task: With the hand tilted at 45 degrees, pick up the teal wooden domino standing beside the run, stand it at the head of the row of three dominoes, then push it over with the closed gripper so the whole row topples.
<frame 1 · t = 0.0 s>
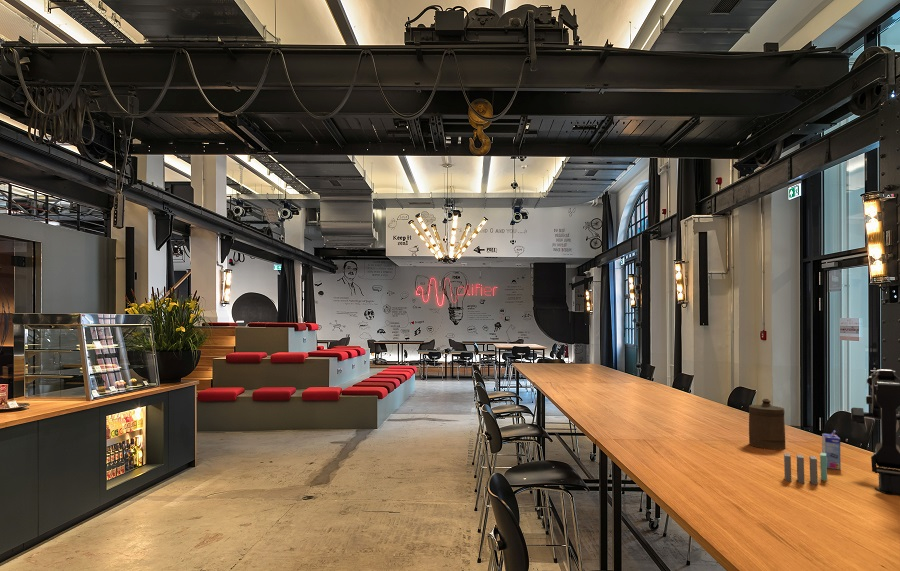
hand: (880, 433, 214), 15 cm above the table, tool tilted 35°, fingers open, 9 cm apart
domino end: (788, 479, 202), on the table
domino 3: (800, 481, 200), on the table
wooden container: (767, 446, 257), on the table
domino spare: (824, 478, 203), on the table
ink cartridge box: (831, 466, 221), on the table
domino 2: (813, 482, 198), on the table
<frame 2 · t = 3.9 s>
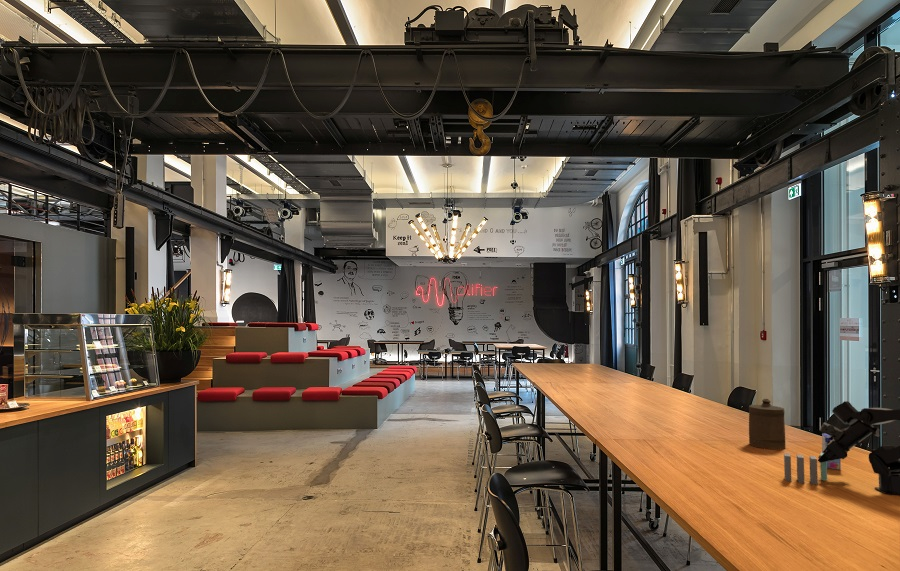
hand: (818, 460, 204), 7 cm above the table, tool tilted 45°, fingers closed on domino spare, 5 cm apart
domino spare: (824, 478, 203), on the table, touching gripper
everything else where it was.
when the fingers open (8 cm above the table, at t = 7.3 s): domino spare drops 1 cm, on the table.
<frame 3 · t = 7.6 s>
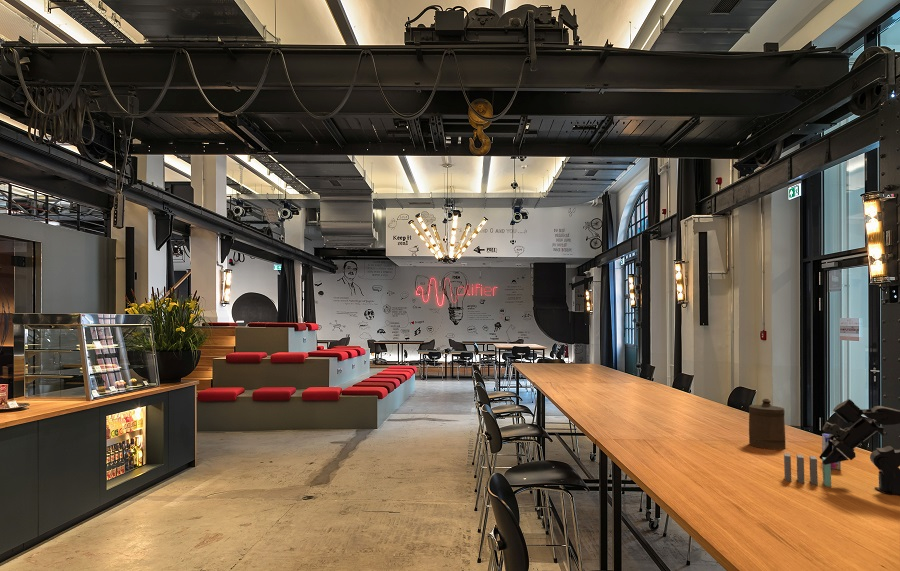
hand: (821, 460, 197), 8 cm above the table, tool tilted 45°, fingers open, 8 cm apart
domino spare: (827, 484, 196), on the table
everything else where it was.
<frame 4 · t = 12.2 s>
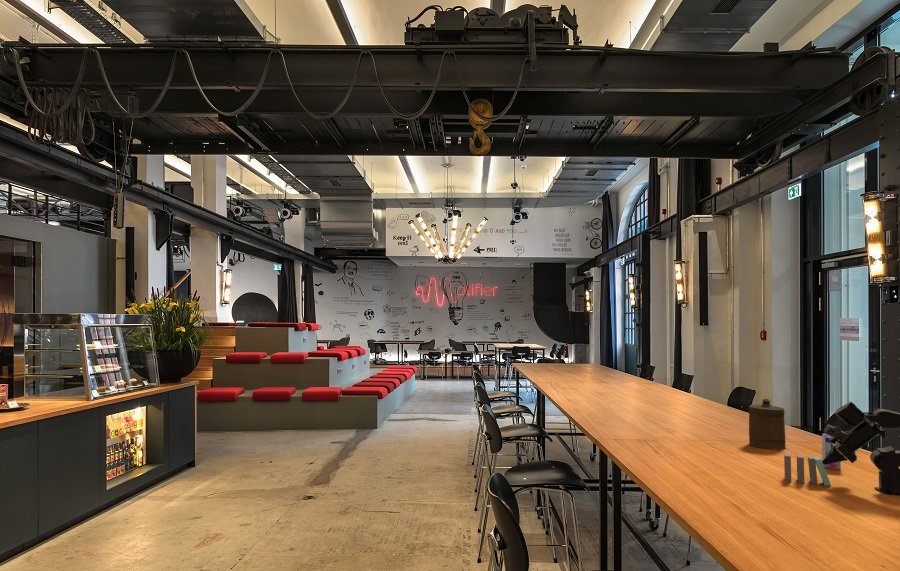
hand: (822, 463, 197), 7 cm above the table, tool tilted 45°, fingers closed
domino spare: (827, 483, 196), on the table, tilted 17°
everything else where it was.
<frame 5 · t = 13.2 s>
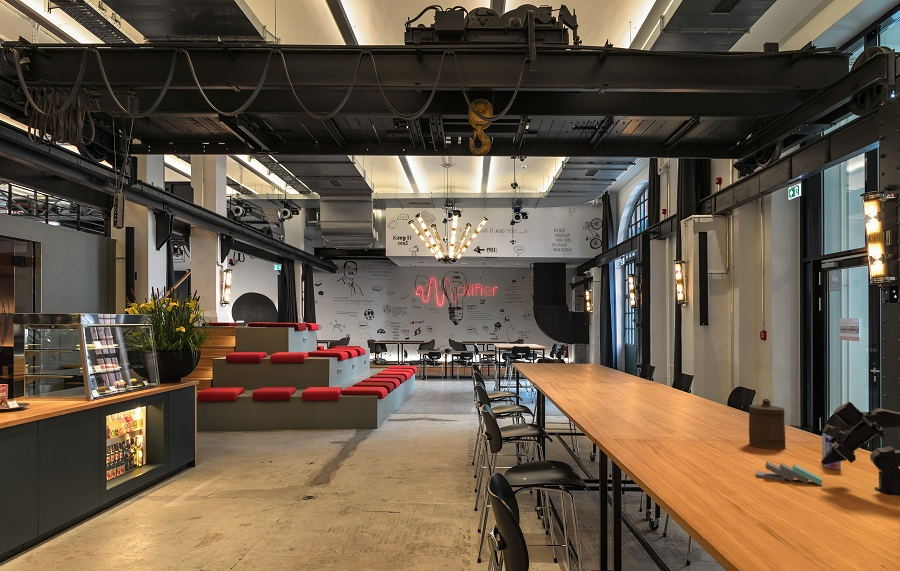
hand: (822, 463, 197), 7 cm above the table, tool tilted 45°, fingers closed
domino end: (784, 478, 202), on the table, tilted 90°, touching domino 3
domino 3: (792, 477, 201), point 1 cm above the table, tilted 66°, touching domino 2, domino end
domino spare: (820, 481, 197), point 1 cm above the table, tilted 65°, touching domino 2
domino 2: (807, 479, 199), point 1 cm above the table, tilted 66°, touching domino 3, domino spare
everything else where it was.
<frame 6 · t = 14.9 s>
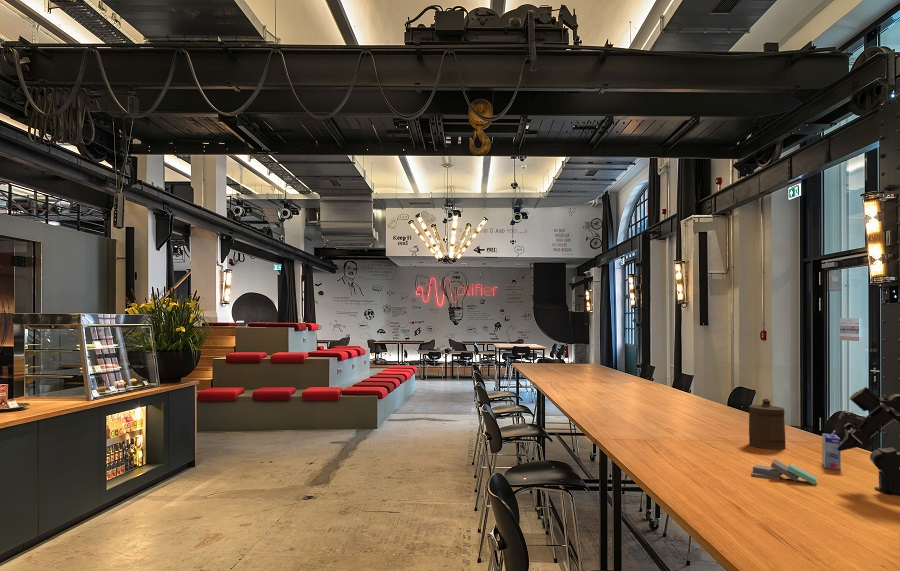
hand: (838, 449, 195), 13 cm above the table, tool tilted 45°, fingers closed
domino end: (779, 478, 203), on the table, tilted 90°
domino 3: (781, 472, 203), point 2 cm above the table, tilted 90°
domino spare: (815, 481, 197), point 1 cm above the table, tilted 65°
domino 2: (797, 477, 200), point 1 cm above the table, tilted 62°
everything else where it was.
at the end: domino end tilted 90°; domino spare tilted 65°; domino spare moved 9.7 cm from its start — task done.
